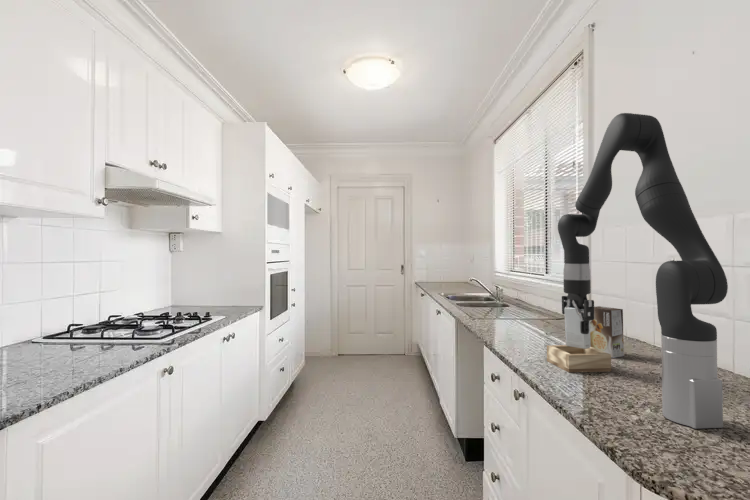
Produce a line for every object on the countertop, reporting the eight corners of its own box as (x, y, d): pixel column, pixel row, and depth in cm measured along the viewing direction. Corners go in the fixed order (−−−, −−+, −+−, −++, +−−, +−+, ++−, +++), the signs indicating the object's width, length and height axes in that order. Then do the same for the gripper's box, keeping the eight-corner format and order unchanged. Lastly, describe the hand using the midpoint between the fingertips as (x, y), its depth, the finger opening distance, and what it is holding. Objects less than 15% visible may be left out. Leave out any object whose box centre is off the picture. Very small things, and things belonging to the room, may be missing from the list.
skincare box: (591, 347, 124) (590, 308, 124) (584, 349, 121) (584, 309, 122) (571, 344, 129) (570, 306, 129) (564, 346, 126) (564, 307, 126)
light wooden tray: (611, 371, 119) (611, 354, 119) (568, 372, 118) (568, 355, 118) (585, 359, 132) (585, 344, 132) (546, 360, 131) (546, 345, 131)
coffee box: (625, 356, 137) (624, 308, 137) (612, 358, 134) (612, 310, 134) (600, 350, 145) (599, 305, 145) (587, 352, 142) (587, 306, 142)
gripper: (602, 279, 119) (603, 335, 118) (575, 276, 133) (575, 327, 133) (578, 279, 118) (579, 336, 118) (553, 277, 132) (553, 327, 132)
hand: (577, 331), depth 125 cm, fingers closed on skincare box, 7 cm apart
